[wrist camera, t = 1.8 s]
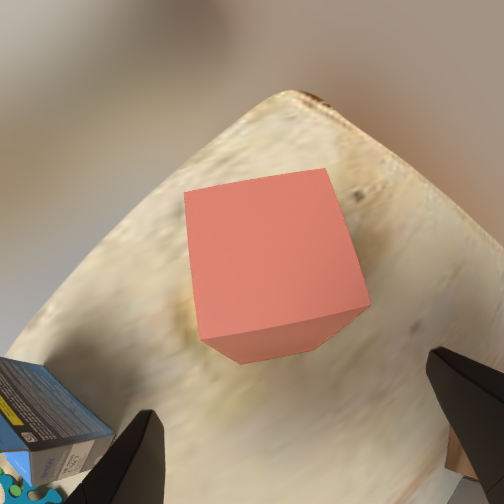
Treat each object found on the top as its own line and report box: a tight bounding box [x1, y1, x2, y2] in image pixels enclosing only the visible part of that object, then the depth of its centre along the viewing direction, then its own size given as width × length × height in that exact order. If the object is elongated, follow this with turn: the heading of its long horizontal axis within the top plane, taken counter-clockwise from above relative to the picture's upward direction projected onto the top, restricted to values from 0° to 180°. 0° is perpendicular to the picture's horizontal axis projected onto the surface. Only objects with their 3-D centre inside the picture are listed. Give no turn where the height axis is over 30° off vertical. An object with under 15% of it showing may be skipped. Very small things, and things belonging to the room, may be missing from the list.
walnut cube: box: [445, 425, 478, 479], centre depth 14 cm, size 5×5×5 cm
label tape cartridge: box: [0, 357, 115, 487], centre depth 13 cm, size 9×4×12 cm, turn 62°
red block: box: [184, 168, 371, 364], centre depth 15 cm, size 5×5×12 cm
